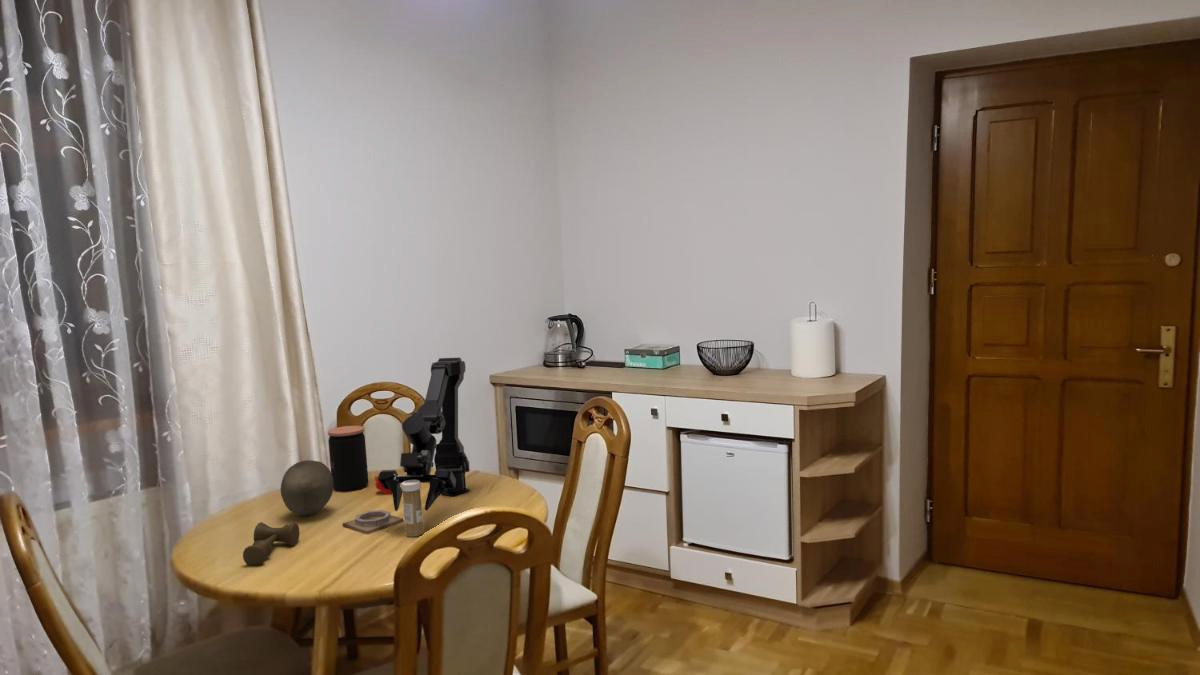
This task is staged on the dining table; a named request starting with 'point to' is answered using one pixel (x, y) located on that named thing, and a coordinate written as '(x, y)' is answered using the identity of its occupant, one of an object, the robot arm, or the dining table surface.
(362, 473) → the coffee jar
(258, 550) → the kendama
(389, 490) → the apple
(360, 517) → the hub seat
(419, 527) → the sprinkles bottle
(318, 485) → the dark grey ball
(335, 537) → the dining table surface
